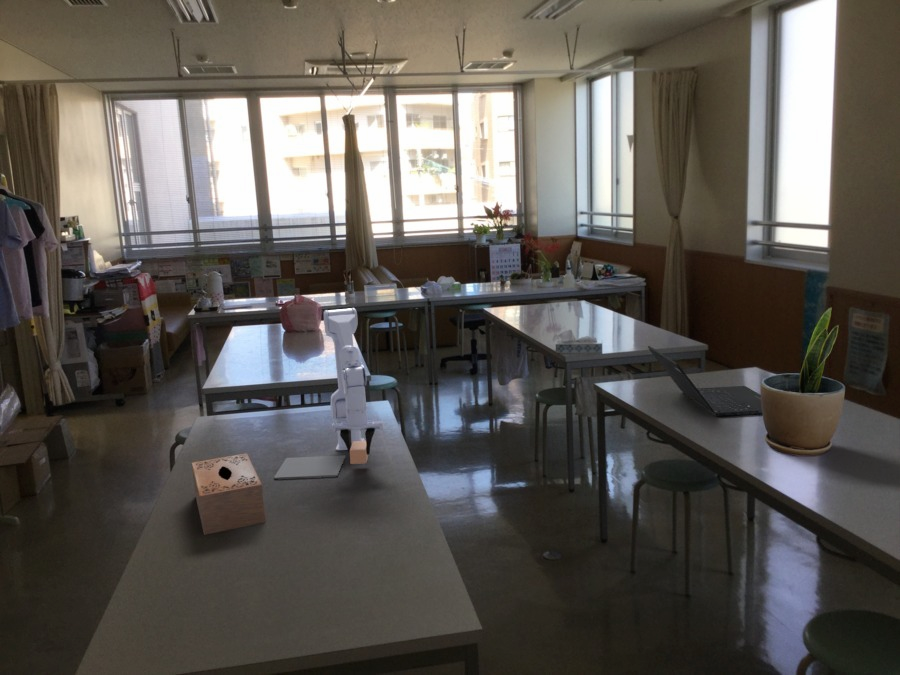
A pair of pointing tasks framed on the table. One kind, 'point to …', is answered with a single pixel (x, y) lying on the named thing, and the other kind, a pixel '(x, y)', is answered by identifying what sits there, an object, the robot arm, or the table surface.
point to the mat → (310, 467)
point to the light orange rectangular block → (358, 452)
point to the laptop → (713, 392)
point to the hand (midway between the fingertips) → (359, 453)
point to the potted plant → (804, 400)
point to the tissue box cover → (228, 493)
